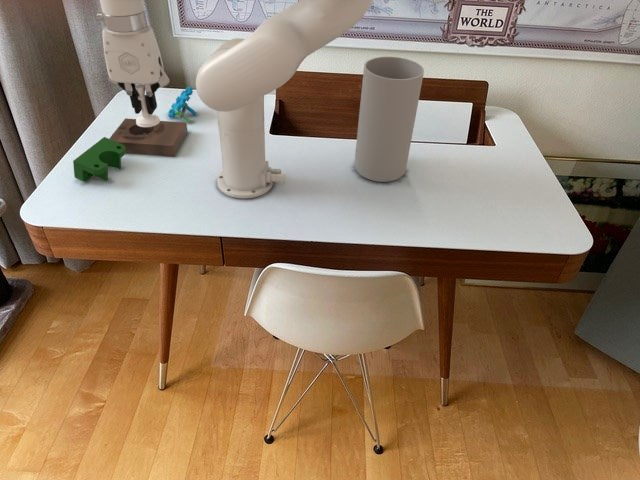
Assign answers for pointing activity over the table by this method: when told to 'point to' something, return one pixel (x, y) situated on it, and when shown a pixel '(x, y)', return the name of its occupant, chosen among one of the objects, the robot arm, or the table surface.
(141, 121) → the chess piece
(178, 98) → the blue slotted cogwheel
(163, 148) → the pad
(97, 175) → the clamp
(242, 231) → the table surface
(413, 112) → the cylinder vase
